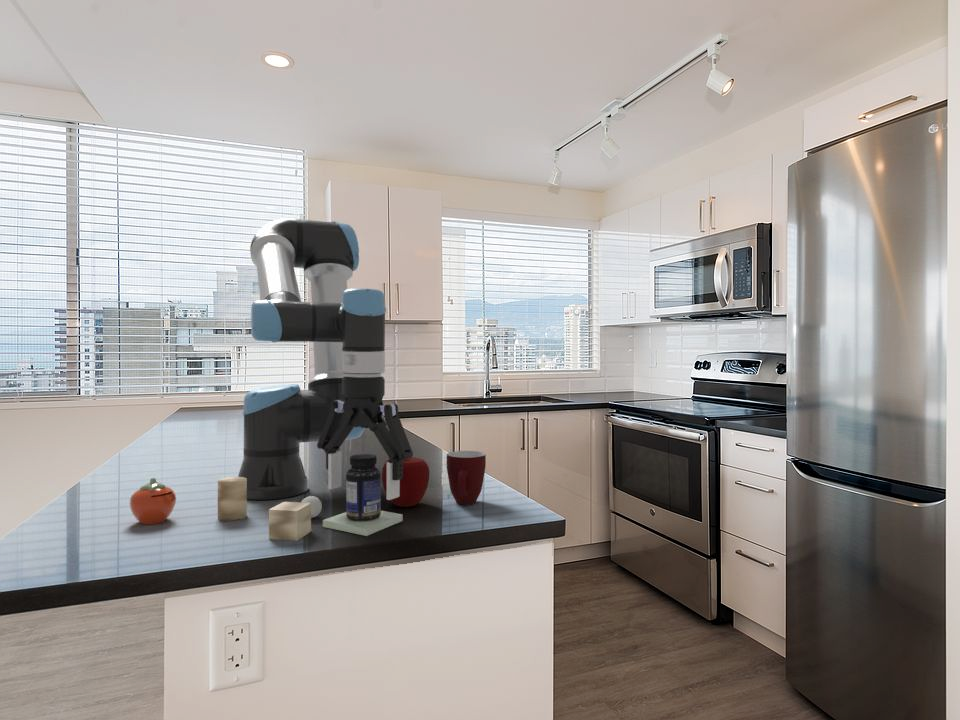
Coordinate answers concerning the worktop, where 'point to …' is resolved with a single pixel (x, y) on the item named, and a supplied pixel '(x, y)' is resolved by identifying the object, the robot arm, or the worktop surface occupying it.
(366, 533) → the coaster
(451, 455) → the mug
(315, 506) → the grey ball
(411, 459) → the apple
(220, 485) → the oak cylinder
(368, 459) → the pill bottle
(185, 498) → the worktop surface
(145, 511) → the tomato
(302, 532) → the maple block
